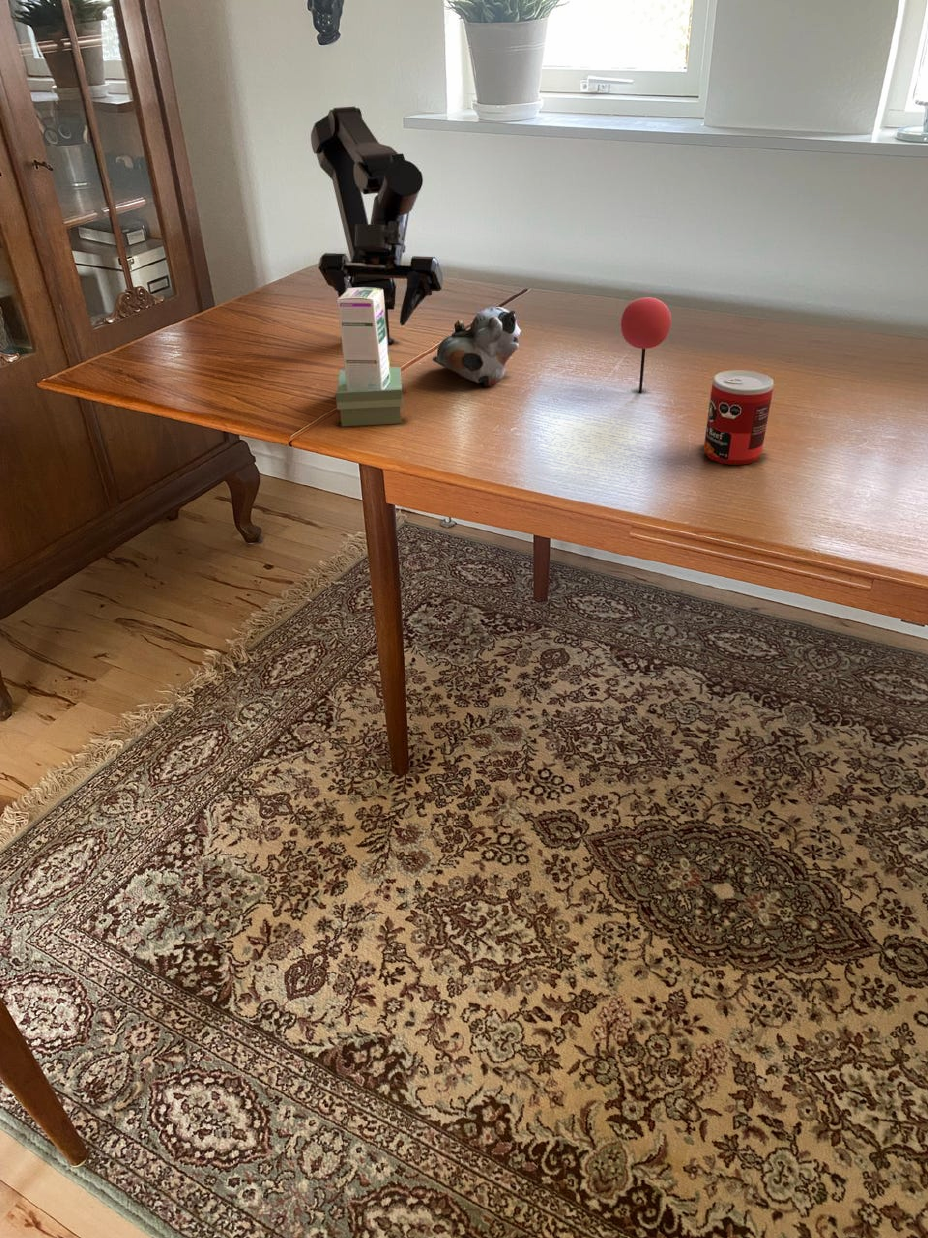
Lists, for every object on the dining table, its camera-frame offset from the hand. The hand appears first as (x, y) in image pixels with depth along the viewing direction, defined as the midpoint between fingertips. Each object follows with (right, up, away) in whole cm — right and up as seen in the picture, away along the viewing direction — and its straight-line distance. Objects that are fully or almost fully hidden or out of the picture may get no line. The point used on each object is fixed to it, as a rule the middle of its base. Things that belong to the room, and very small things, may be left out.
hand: (373, 322), depth 143 cm
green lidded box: (-1, -12, +5) cm, 13 cm away
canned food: (+52, -23, -12) cm, 58 cm away
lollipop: (+43, -9, +8) cm, 44 cm away
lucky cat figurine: (+16, -4, +16) cm, 23 cm away
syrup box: (-1, -10, +2) cm, 10 cm away
